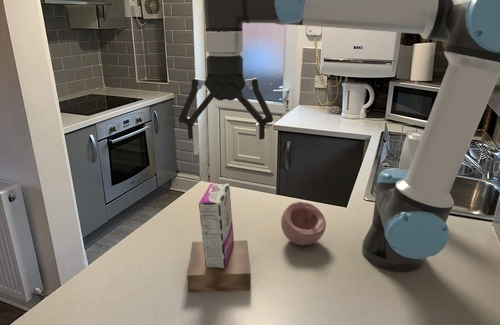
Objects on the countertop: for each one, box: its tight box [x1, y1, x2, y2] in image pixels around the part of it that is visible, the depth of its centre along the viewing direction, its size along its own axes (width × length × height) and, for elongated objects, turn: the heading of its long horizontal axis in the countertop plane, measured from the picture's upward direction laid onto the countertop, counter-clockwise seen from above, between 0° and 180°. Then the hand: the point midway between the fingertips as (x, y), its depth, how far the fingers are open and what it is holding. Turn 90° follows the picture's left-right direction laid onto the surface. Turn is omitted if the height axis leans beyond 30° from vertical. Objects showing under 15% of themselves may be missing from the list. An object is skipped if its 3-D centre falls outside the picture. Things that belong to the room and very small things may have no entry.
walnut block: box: [186, 239, 252, 293], centre depth 92 cm, size 14×14×5 cm
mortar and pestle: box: [280, 201, 327, 246], centre depth 104 cm, size 12×12×12 cm
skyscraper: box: [398, 130, 423, 170], centre depth 119 cm, size 8×8×28 cm
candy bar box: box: [198, 182, 235, 268], centre depth 88 cm, size 11×5×16 cm, turn 172°
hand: (227, 153), depth 85 cm, fingers open, 13 cm apart
